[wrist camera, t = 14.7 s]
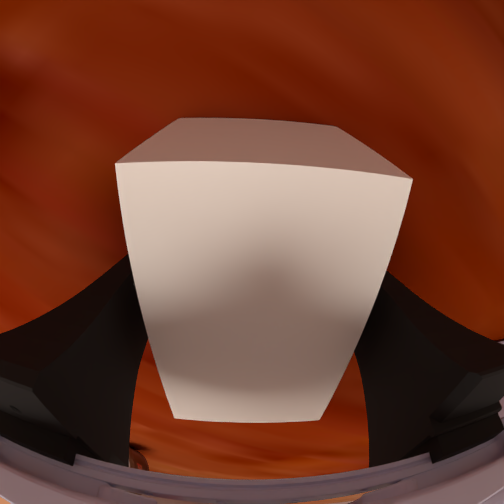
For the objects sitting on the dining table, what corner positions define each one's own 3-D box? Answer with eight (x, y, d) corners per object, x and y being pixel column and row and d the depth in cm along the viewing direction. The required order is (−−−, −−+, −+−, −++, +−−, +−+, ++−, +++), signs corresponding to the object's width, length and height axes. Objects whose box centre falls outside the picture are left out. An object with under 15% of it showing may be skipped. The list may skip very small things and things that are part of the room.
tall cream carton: (336, 126, 10) (412, 178, 5) (302, 320, 16) (319, 420, 11) (178, 118, 10) (115, 162, 5) (191, 317, 16) (174, 418, 11)
